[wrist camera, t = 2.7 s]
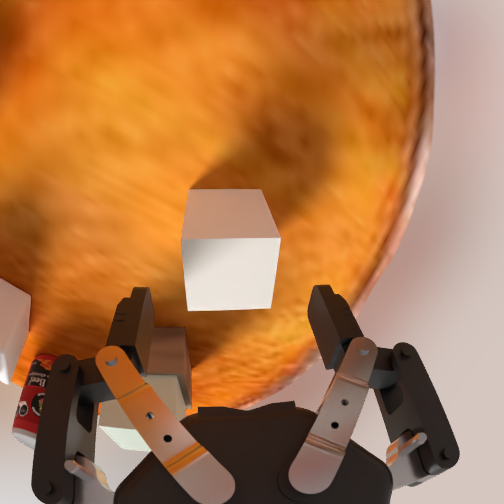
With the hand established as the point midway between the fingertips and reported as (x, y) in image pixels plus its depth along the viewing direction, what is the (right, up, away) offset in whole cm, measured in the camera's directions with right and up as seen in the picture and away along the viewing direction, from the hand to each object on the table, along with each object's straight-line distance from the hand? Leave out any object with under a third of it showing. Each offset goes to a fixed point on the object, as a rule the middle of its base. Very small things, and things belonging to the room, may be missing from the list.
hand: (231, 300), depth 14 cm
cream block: (-1, +4, +6) cm, 7 cm away
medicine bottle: (-24, -3, +7) cm, 25 cm away
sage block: (-8, -10, +8) cm, 15 cm away
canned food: (-23, -12, +14) cm, 30 cm away
